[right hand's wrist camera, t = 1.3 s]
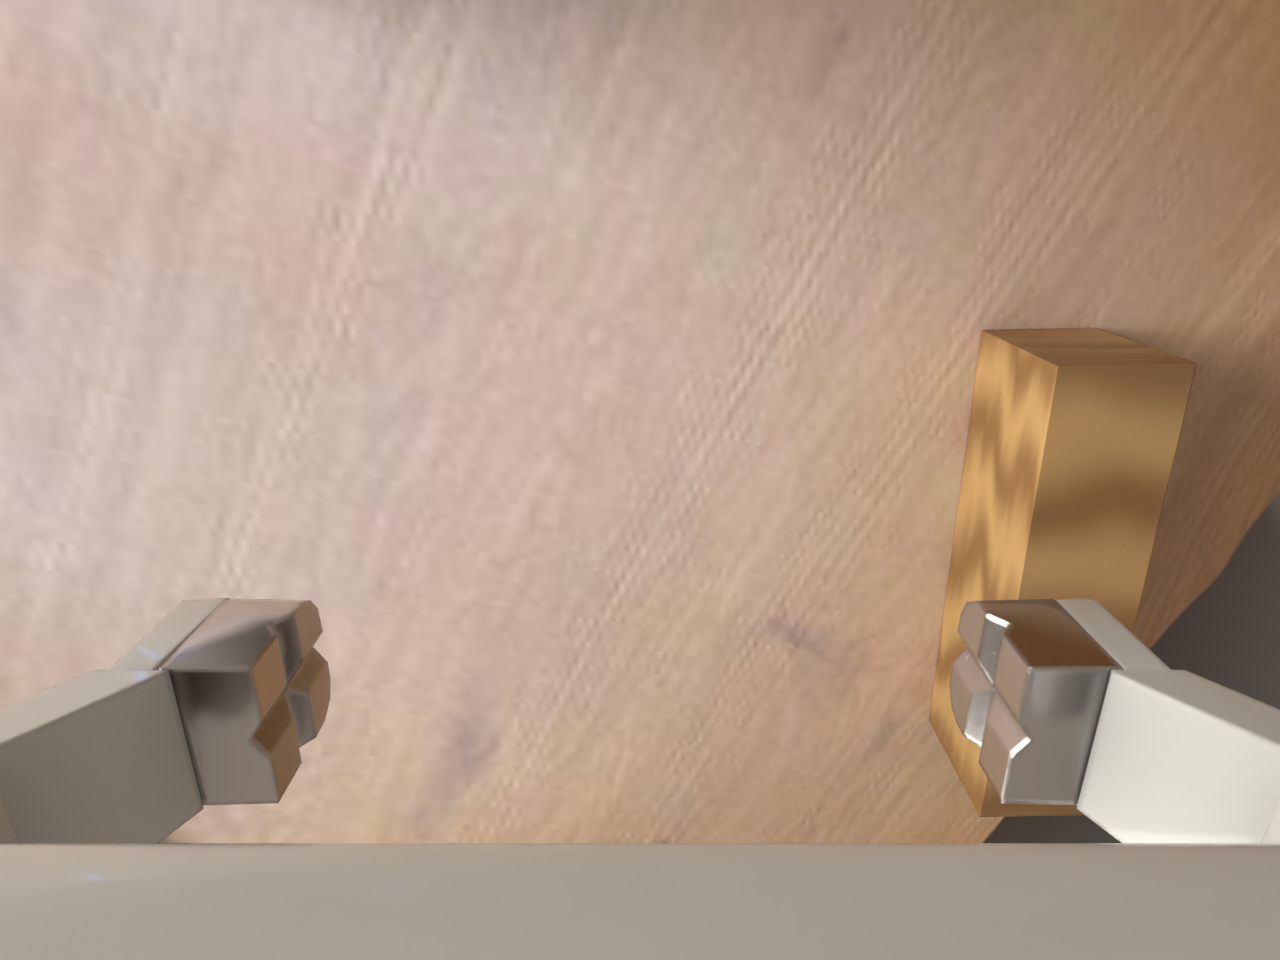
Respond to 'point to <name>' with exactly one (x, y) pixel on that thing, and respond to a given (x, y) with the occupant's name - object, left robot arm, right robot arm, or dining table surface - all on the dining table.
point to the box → (1057, 493)
